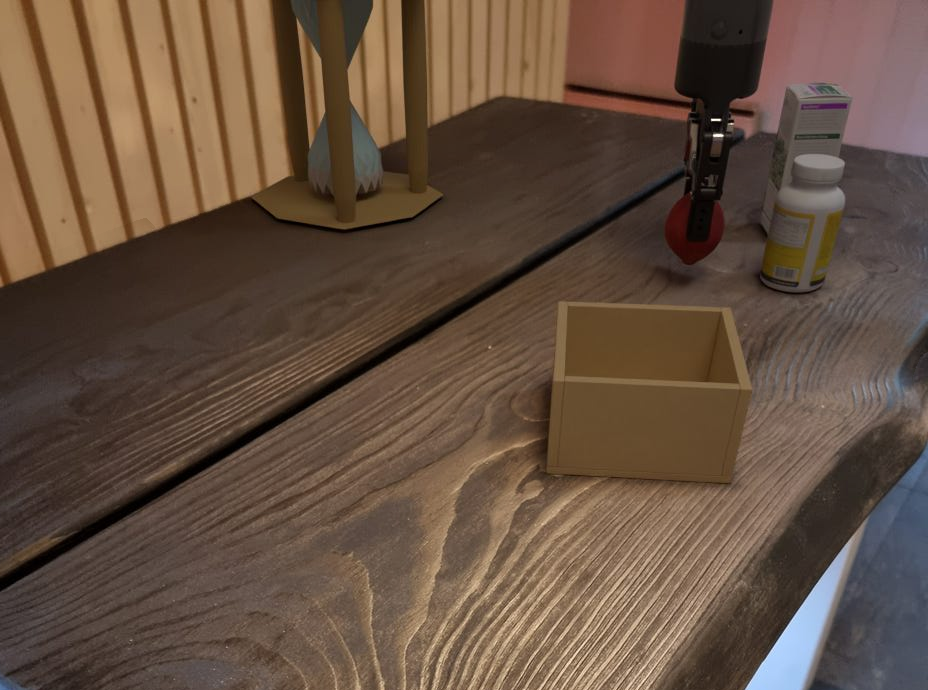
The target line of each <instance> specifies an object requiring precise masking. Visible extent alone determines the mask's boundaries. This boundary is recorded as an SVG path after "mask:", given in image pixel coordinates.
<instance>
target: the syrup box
mask: <svg viewBox="0 0 928 690" xmlns="http://www.w3.org/2000/svg"><path fill="white" fill-rule="evenodd" d="M852 102H853V96H852V95H851V94H849V93H848V92H847V91H846V90H845V89H843V88H842V87H841V86H840V85H839V84H836V83H828V82H827V83H826V82H806V83H805V82H804V83H797V84H787V85H786V87H785V91H784V97H783V102H782V107H781V111H780V117H779V121H778V127H777V132H776V136H775V142H774V147H773V152H772V157H771V162H770V167H769V172H768V178H767V182H766V187H765V193H764V197H763V202H762V208H761V213H760V217H759V225H760V226H761V228H762V229H763V230H764V232H765V234H766V235H767V236H768V232H769V227H770V223H771V218H772V213H773V208H774V204H775V200H776V196H777V194H778V192H779V190H780V189H781V188H782V187H783V186H785V185H786V184H788V183H791V182H792V178H793V177H792V176H791V170H792V166H793V161H794V159H795V158H796V157H798V156H800V155H806V154H823V155H829V156H834V157H837V158H840V153H841V148H842V144H843V140H844V136H845V131H846V127H847V124H848V123H847V122H848V118H849V115H850V110H851V106H852Z"/></svg>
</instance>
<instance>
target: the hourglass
mask: <svg viewBox="0 0 928 690" xmlns="http://www.w3.org/2000/svg"><path fill="white" fill-rule="evenodd" d="M425 1H426V0H400V6H401V7H400V8H401V12H400V13H401V43H402V44H401V45H402V49H401V50H402V82H403V103H404V104H403V106H404V124H405V125H404V126H405V144H406V146H405V147H406V166H407V167H406V168H407V174H405V173H399V172H392V171H384V168H383V164H382V154H381V151H380V149H379V147H378V144H377V143H376V141H375V139H374V138H373V136H372V134H371V132H370V131H369V130H368V128H367V126H366V124H365V123H364V121H363V119H362V117H361V116H360V114H359V112H358V111H357V109H356V108H355V105H354V104H353V103H352V101H351V95H350V83H349V73H348V70H349V68H350V65H351V64H352V62H353V58H354V56H355V53H356V51H357V48H358V46H359V45H360V42H361V40H362V37H363V34H364V32H365V30H366V27H367V25H368V23H369V21H370V18H371V14H372V11H373V9H374V0H271V4H272V5H271V7H272V14H273V24H274V33H275V44H276V53H277V61H278V72H279V80H280V81H279V82H280V89H281V95H282V103H283V111H284V119H285V126H286V134H287V142H288V150H289V157H290V162H291V168H292V171H293V175H288V176H286V177H284V178H282V179H280V180H279V181H276V182H275V183H272V184H271V185H269V186H267V187H265V188H264V189H261V190H259V191H258V192H256V193H255V194H253V195H251V196H250V198H251V199H253V200H254V201H255V202H256V203H257V204H259V205H260V206H261V207H263V208H264V209H265V210H266V211H268V212H269V213H270V214H271V215H273V216H274V217H275V218H276V219H279V220H285V221H289V222H290V221H291V222H298V223H303V224H308V225H314V226H320V227H326V228H333V229H338V230H349V229H355V228H359V227H365V226H371V225H376V224H381V223H382V224H383V223H388V222H393V221H398V220H402V219H404V220H405V219H408V218H413V217H416V215H418V214H419V213H421V212H422V211H423V210H425V209H426V208H427V207H429V206H430V205H432V204H433V203H434V202H436V201H437V200H439V199H440V198H441V197H442V196H444V195H445V194H444V193H442V192H440V191H439V190H437V189H436V188H434V187H432V186H430V185H428V178H429V177H428V175H429V135H428V134H429V124H428V123H429V122H428V121H429V120H428V118H429V117H428V115H429V114H428V111H429V110H428V109H429V108H428V106H429V105H428V70H427V69H428V67H427V66H428V64H427V63H428V61H427V34H426V33H427V32H426V4H425V3H426V2H425ZM298 23H299V25H300V26H301V27H300V28H302V30H303V31H304V34H305V35H306V36H307V38H308V40H309V42H310V44H311V45H312V47H313V48H314V50H315V52H316V53H317V55H318V57H319V58H320V62H321V63H320V64H321V74H322V75H321V76H322V91H323V100H324V103H323V104H324V114H323V116H322V118H321V121H320V123H319V125H318V128H317V131H316V133H315V135H314V137H313V139H312V142H311V145H310V138H309V127H308V114H307V103H306V92H305V82H304V80H305V79H304V72H303V71H304V69H303V62H302V54H301V53H302V52H301V45H300V36H299V29H298V27H299V26H298Z"/></svg>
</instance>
